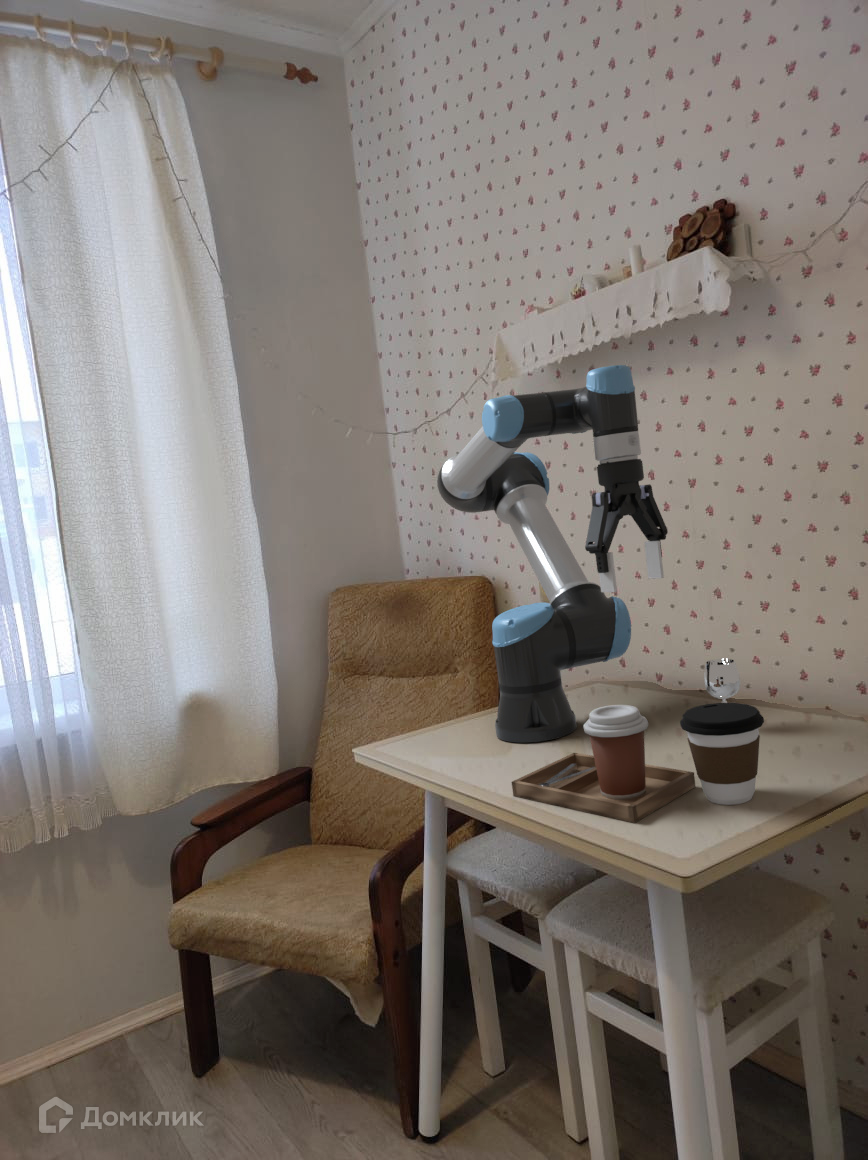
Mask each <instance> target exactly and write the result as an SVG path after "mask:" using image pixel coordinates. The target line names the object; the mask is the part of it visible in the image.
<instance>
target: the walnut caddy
mask: <svg viewBox="0 0 868 1160" xmlns="http://www.w3.org/2000/svg"><path fill="white" fill-rule="evenodd" d="M571 764H577V771H575V772H574V773H573V774H575V773H578V772H580V771H583V770H586V769H589V768H592V767H595V768H593V769H591V770H589V771H587V772H585V773H583V774H581V775H579V776H577V777H575V778H573V779H571V780H569V781H567V782H565V783H563V784H561V785H559V786H557V787H555V788H550V787H546V786H541V785H539V784H541V783H545V782H547V781H548V780H550V779H551V778H552V777H554V776H555V775H557V774H558V773H559V772H561V771H562V770H564V769H565V768H566V767H568V766H569V765H571ZM571 775H572V774H571ZM645 779H646V792H645V794H643V795H641V796H640V797H636V798H633V799H626V800H614V799H608V798H606V797H604V796H602V794H601V789H600V784H599V779H598V774H597V770H596V765H595V760H594V755H591V754H584V753H578V752H573V753H570V754H568V755H567V756H564V757H562V758H560V759H558V760H556V761H553V762H551V763H549V764H546V765H545V766H543V767H540V768H539V769H537V770H534V771H532V772H530V773H528V774H525V775H523V776H521V777H519V778H517V779H514V780H513V781H511V789H512V796H513V797H517V798H521V799H525V800H529V801H535V802H540V803H543V804H548V805H553V806H557V807H561V808H565V809H570V810H574V811H578V812H584V813H588V814H591V815H592V814H593V815H597V816H602V817H606V818H610V819H614V820H620V821H623V822H629V823H633V824H635V823H637V822H639V821H641V820H642V819H644V818H645V817H647V816H649V815H650V814H652V813H654V812H655V811H657V810H659V809H661V808H663V807H664V806H666V805H667V804H669V803H672V802H673V801H674V800H676V799H678V798H679V797H681V796H683V795H684V794H686V793H688V792H690V791H691V790H693V789H695V788H696V777H695V772H694V771H688V770H684V769H683V770H681V769H675V768H670V767H664V766H658V765H652V764H651V765H650V764H646V763H645Z"/></svg>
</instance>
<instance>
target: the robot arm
mask: <svg viewBox="0 0 868 1160" xmlns="http://www.w3.org/2000/svg"><path fill="white" fill-rule="evenodd" d="M585 384H586V385H585V386H583V387H579V388H574V389H563V390H554V391H547V392H536V393H535V392H534V393H523V394H515V395H503V396H500V397H499V396H498V397H495V398H490V399H488V400H487V401H486V402H485V404H484V405H483V410H482V413H481V425H482V426H481V427H480V429H479V430H478V431H477V432H476V434H474V436H473V437H472V438H471V439H470V440H469V442H468V443H467V444H466V445H465V446H464V447H463V449H462V450H461V451H460V452H459V454H455V455H453V456H451V457H449V458H448V459H447V460H446V461H445V462H444V463H443V465H442V466H441V468H440V469H439V471H438V474H437V489H438V492H439V495H440V497H441V498H442V500H443V501H444V502H445V503H446V504H447V505H448V506H449V507H451V508H453V509H455V510H457V511H460V512H463V513H474V514H475V513H482V512H489V511H493V512H494V513H495V515H496V516H497V518H498V519H499V521H500V522H501V523H503V524H506V525H509V526H510V528H511V530H512V532H513V535H515V538H516V540H517V542H518V543H519V546H520V547H521V549H522V551H523V553H524V555H525V556H526V559H527V561H528V563H529V565H530V567H531V569H532V570H533V572H534V574H535V576H536V579H537V580H538V581H539V584H540V586H541V588H542V590H543V593H544V595H546V597H547V599H548V602H534V603H531V604H524V605H519V606H517V607H513V608H511V609H508V610H506V611H504V612H502V613H500V614H499V615H497V616H496V617H495V618H494V619H493V621H492V623H491V624H492V625H491V627H492V628H491V630H492V642H491V643H492V646H493V649H494V650H493V652H494V657H495V665H496V671H497V679H498V686H499V694H500V696H499V701H498V706H497V713H496V714H497V717H496V719H495V722H494V727H495V735H496V737H497V738H498V739H499V740H501V741H505V742H510V743H519V744H520V743H523V744H524V743H537V742H546V741H551V740H554V739H555V740H556V739H558V738H563V737H565V736H568V735H570V734H571V733H573V732H575V730H577V720H576V719H577V717H576V714H575V712H574V710H572V708H571V705H570V703H569V700H568V698H567V696H566V693H565V690H564V688H563V683H562V675H561V671H563V670H568V669H572V668H577V667H583V666H587V665H591V664H597V663H600V662H603V663H605V662H608V661H609V660H613V659H617V658H620V657H622V656H623V655H625V653H627V651H628V648H629V646H630V643H631V639H632V638H631V637H632V622H631V616H630V611H629V609H628V606H627V605H626V603H625V601H624V600H623V599H622V598H620V597H617V596H613V595H612V596H610V597H607V595H606V594H605V593H616V592H618V588H617V579H616V570H615V562H614V555H613V552H612V551H611V552H610V548H611V546H612V543H613V539H614V536H615V534H616V532H617V528H618V525H619V522H620V520H621V519H623V518H624V517H625V516H631V518H632V519H633V521H634V522H635V523H636V525H637V527H639V530H640V531H641V533H642V534H643V535H644V537H645V539H646V540H648V541H644V542H643V543H644V552H645V559H646V560H645V561H646V570H647V578H648V579H664V578H665V575H664V567H663V558H662V556H663V553H662V544H661V541H664V540H666V538H667V535H668V533H669V532H668V531H669V530H668V527H667V526H666V524H665V521H664V519H663V515H662V513H661V511H660V509H659V506H658V504H657V502H656V499H655V497H654V492H653V487H652V485H651V484H650V483H649V484H641V485H640V482H641V481H643V480H644V479H645V476H644V475H645V474H644V466H643V465H644V464H643V460H642V459H641V458H639V456H641V454H642V450H641V441H640V435H639V421H638V420H639V419H638V411H637V401H636V399H637V398H636V391H635V390H636V387H635V385H634V380H633V374H632V369H631V367H630V366H628V365H626V364H617V365H616V364H615V365H607V366H602V367H597V368H593V369H591V370H589V371H588V372H587V375H586V383H585ZM591 430H592V437H593V447H594V457H595V458H594V459H595V461H596V462H599V464H598V465H597V466H596V469H597V470H596V471H597V472H596V473H597V481H598V485H600V486H602V487H604V491H603V492H602V491H601V492H593V493H592V495H591V502H592V503H591V504H592V507H591V511H590V512H591V513H590V517H589V522H588V523H589V524H588V529H587V535H586V541H585V546H584V547H585V550H586V552H589V554H590V555H593V554H594V555H595V561H596V562H595V563H596V571H597V573H598V578H599V584H597V583H595V582H591V581H589V580H588V578H587V576H586V575H585V573H584V571H583V570H582V567H581V565H580V564H579V563H578V560H577V559H576V557H575V555H574V553H573V552H572V550H571V548H570V546H569V544H568V543H567V541H566V539H565V537H564V535H563V533H562V532H561V530H560V529H559V527H558V524H557V523H556V522H555V519H554V518H553V517H552V514H551V513H550V510H549V509H548V507H547V506H546V504H547V501H548V497H549V496H548V495H549V493H550V479H549V477H548V471H547V468H546V466H545V464H544V463H543V461H542V460H541V459H540V458H539V456H537V455H536V454H535V453H531V452H528V451H525V452H519V451H517V450H518V449H519V448H520V447H521V446H522V445H523V444H524V443H525V442H526V441H527V440H528V439H533V438H540V437H547V436H554V435H555V436H557V435H564V434H571V435H572V434H573V435H574V434H576V435H577V434H580V433H581V434H583V433H587V432H589V431H591Z"/></svg>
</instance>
